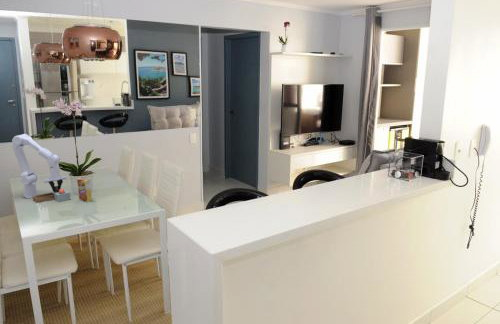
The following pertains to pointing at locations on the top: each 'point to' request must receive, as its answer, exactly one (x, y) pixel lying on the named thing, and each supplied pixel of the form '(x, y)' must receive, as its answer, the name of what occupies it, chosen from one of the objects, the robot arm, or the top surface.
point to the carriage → (55, 190)
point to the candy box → (84, 189)
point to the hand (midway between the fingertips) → (56, 190)
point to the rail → (43, 197)
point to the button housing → (62, 196)
